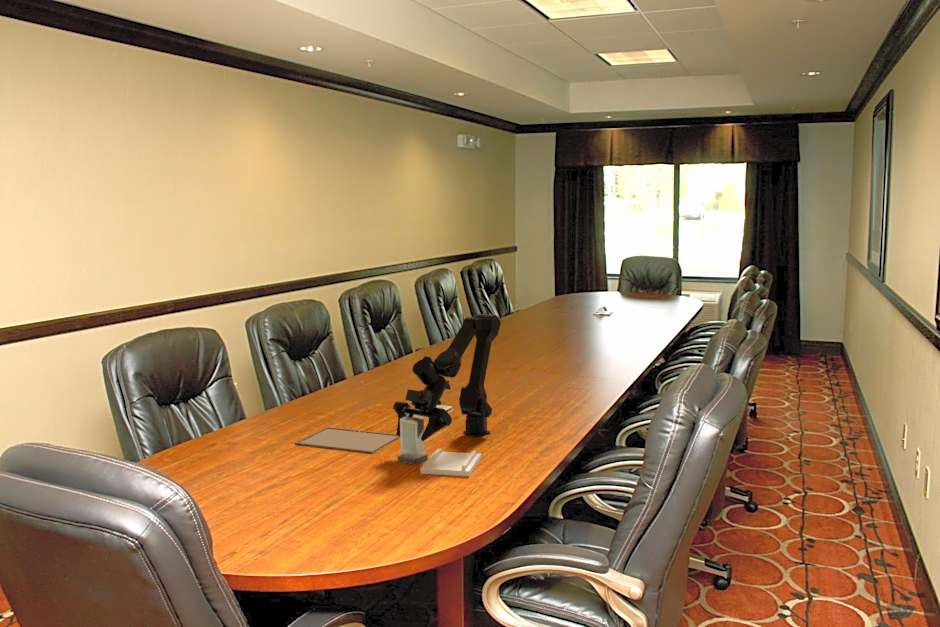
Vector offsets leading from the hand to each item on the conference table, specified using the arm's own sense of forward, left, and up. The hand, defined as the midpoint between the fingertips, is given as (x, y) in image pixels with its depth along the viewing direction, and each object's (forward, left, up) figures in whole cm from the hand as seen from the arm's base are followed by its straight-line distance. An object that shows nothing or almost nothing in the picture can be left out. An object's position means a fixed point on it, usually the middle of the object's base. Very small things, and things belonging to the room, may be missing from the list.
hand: (409, 437), depth 244 cm
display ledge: (-6, +12, -7) cm, 15 cm away
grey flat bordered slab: (+2, -30, -8) cm, 31 cm away
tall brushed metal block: (-1, 0, -7) cm, 7 cm away
